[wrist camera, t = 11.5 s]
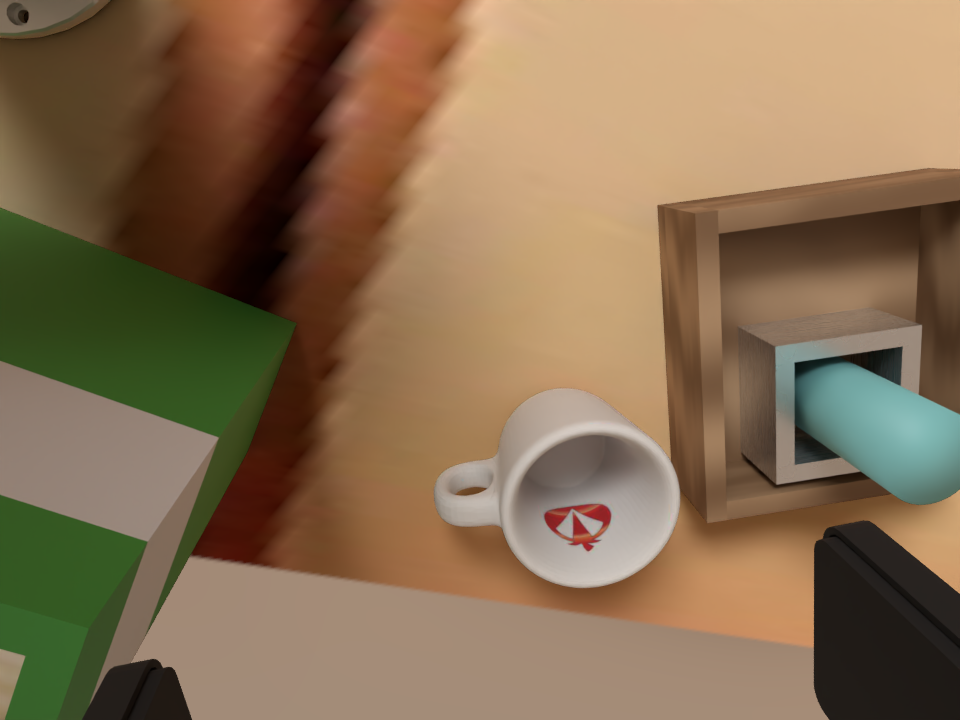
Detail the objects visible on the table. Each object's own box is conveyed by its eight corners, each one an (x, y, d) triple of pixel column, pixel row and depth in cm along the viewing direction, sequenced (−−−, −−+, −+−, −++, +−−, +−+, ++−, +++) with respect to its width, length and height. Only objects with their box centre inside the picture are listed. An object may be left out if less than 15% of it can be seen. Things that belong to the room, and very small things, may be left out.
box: (657, 205, 36) (695, 213, 31) (928, 168, 36) (1005, 170, 32) (672, 479, 40) (707, 523, 35) (914, 441, 41) (981, 479, 36)
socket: (737, 326, 37) (775, 346, 33) (869, 307, 37) (922, 324, 33) (740, 451, 39) (776, 484, 35) (865, 432, 39) (915, 462, 35)
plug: (763, 350, 37) (884, 419, 28) (838, 339, 38) (983, 403, 28) (764, 422, 38) (881, 511, 29) (837, 411, 39) (976, 496, 29)
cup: (441, 524, 40) (448, 613, 32) (421, 388, 37) (422, 449, 30) (634, 495, 40) (686, 575, 33) (625, 358, 38) (678, 411, 30)
